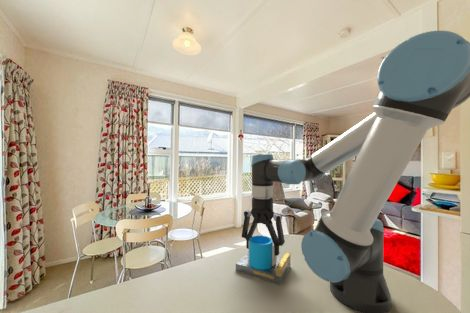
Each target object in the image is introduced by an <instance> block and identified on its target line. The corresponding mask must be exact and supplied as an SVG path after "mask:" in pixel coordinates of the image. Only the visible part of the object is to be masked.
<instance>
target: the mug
mask: <svg viewBox="0 0 470 313" xmlns="http://www.w3.org/2000/svg"><path fill="white" fill-rule="evenodd" d="M273 245H274V244H273V241H272V238H271V237H270V236H266V235H252V237H251V238H250V239H249V249H248V252H249V264H250V266H252V267H253V268H255V269H260V270H265V269H269V268H271V267H272V246H273Z"/></svg>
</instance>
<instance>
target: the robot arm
mask: <svg viewBox="0 0 470 313" xmlns="http://www.w3.org/2000/svg"><path fill="white" fill-rule="evenodd" d="M376 76H377V77H376V79H377V80H376V81H377V85H378V89H379V90H378V93H377V95H376V97H375V100H374V102H373V104H372V109H373V111H374V112H372V114H369V116H367V117H366V118H364V119H363V120H361V121H359V122H358V123H357V124H355V125H354V126H352V127H350V128H348V130H346V131H344V132H343V133H342V134H340V135H338V136H337V137H336V138H334V139H333V140H332V141H330V142H329V143H326V144H325V145H324V146H322V147H321V148H320V149H318V150H316V151H315V152H314V153H313V154H311V155H309V156H307V157H306V158H305V159H290V158H289V159H274V155H273V154H272V153H254V154H253V155H252V157H251V158H252V159H251V196H252V198H251V210H249V209H248V210H245V211H244V212H243V216H244V219H243V225H242V231H241V238H243V239H245V240H246V243H245V244H246V249H247V250H249V239H250V238H251V237H253V236H254V233H255V231H256V229H257V226H258V224H262V225H265V227H266V228H267V231H268V233H269V237H270V238H271V239H272V241H273V246H272V266H274V265H275V264H276V262H277V257H279V254H280V247H282V246H283V245H284V244H285V243H286V242H285V236H284V231H283V230H284V229H283V224H282V219H283V215H282V214H276V213H275V212H274V198H273V197H274V183H279V184H280V183H281V184H286V185H289V186H290V185H300V184H301V183H302V182H310V181H311V182H315V181H317V180H321V179H322V178H323V177H324V176H325V174H326V173H327V172H329V171H331V170H333V169H335V168H336V167H338V166H341V165H342V164H344V163H346V162H347V161H350V160H352V159H353V158H355V157H356V156H357V157H356V159H355V161H354V162H353V164H352V167H351V170H350V171H349V174H348V175H347V177H346V180H345V181H344V184H343V185H342V188H341V190H340V192H339V194H338V196H337V198H336V201H335V203H334V205H333V206H332V209H331V210H326V211H324V212H322V214H321V215H320V218H319V220H318V222H317V225H316V226H315V228H314V229H313V230H309V231H308V232H307V233H305V234H304V236H303V237H302V240H301V246H300V247H301V253H302V255H303V257H304V261H305V263H306V264H307V266H308V267H309V269H310V270H311V272H313V273H314V274H315V275H316V276H317V277H318V278H320V279H321V280H323V281H325V282H329V289H330V291H331V292H330V293H332V295H333V296H334V297H335V298H336V299H337V300H338V301H339V302H340V303H342V304H344V305H345V306H347V307H350V308H352V309H354V310H357V311H359V312H362V313H387V312H389V311H390V310H391V308H392V295H391V292H390V290H389V286H388V284H387V281H386V278H385V275H384V242H385V241H384V238H385V236H384V234H385V231H384V224H383V223H384V222H382V220H380V219H379V218H378V217H379V215H380V214H381V212H382V209H383V208H384V207H385V205H386V203H387V201H388V199H389V198H390V196H391V194H392V192H393V191H394V189H395V187H397V186H396V185H397V184H398V182H399V180H400V178H401V177H402V175H403V173H404V172H405V170H406V168H407V167H408V165H409V164H410V161H411V159H412V158H413V156H414V154H415V153H416V150H418V147H419V146H420V144H421V142H422V140H423V139H424V137H425V135H426V133H427V132H428V131H429V130H430V129H432V128H435V127H437V126H440V125H443V124H445V122H446V120H447V118H448V117H449V116H450V113H451V112H452V110H454V109H455V108H457V107H459V106H460V105H462V104H463V103H465V102H466V101H467V100H468V99H469V98H470V42H469V40H467V39H465V38H464V37H463V36H461V35H460V34H459V33H456V32H453V31H449V30H430V31H426V32H421V33H418V34H416V35H414V36H411V37H409V38H408V39H406V40H405V41H403V42H401V43H399V44H397V45H396V46H395V47H394V48H393V49H391V51H389V53H388V54H387V55H386V56H385V57H384V58H383V60H382V61H381V63H380V65H379V68H378V70H377V75H376ZM251 216H252V218H253V220H252V221H251ZM273 218H274V221H275V227H276V230H275V227H274V224H273V220H272V219H273ZM250 221H251V222H252V223H251V226H250Z"/></svg>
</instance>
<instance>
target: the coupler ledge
mask: <svg viewBox="0 0 470 313" xmlns="http://www.w3.org/2000/svg"><path fill="white" fill-rule="evenodd" d="M290 269H291V253H290V252H285V254H284V255H283V257H280V256H277V262H276V264H275V265H274V266H272V267H271V268H269V269H265V270H260V269H255V268H253V267H252V266H250V264H249V251H248V252H246V253H245V254H244V255H243V256H241V258H240V259H239V260H238V261H237V262H236V263H235V271H236V272H238V273H242V274H246V275H249V276H251V277H254V278H257V279H261V280H263V281H268V282H270V283H273V284H277V285H279V286H281V285H282V283H283V282H284V279H285V278H286V276H287V274H288V273H289V270H290Z"/></svg>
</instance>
